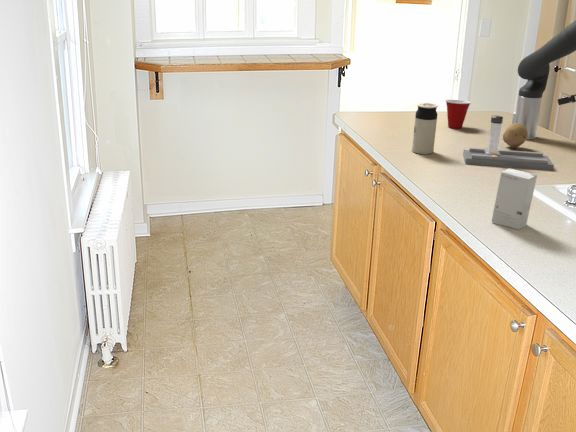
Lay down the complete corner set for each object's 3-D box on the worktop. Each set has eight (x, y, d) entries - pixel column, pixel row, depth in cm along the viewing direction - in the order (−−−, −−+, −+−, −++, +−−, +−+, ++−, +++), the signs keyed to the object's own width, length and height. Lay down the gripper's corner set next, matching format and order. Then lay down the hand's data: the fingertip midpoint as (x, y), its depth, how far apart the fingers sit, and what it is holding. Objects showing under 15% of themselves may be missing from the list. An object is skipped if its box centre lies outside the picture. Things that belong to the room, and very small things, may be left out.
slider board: (546, 161, 244) (547, 152, 243) (552, 170, 233) (554, 161, 232) (463, 154, 249) (464, 146, 248) (465, 163, 238) (466, 154, 236)
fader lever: (497, 153, 243) (503, 115, 238) (499, 157, 238) (505, 119, 233) (483, 152, 244) (489, 114, 239) (485, 156, 239) (490, 118, 233)
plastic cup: (468, 126, 293) (472, 99, 289) (466, 131, 284) (470, 103, 280) (443, 123, 297) (446, 97, 292) (440, 128, 287) (444, 101, 283)
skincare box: (491, 222, 184) (498, 171, 179) (500, 217, 188) (507, 167, 183) (520, 230, 179) (529, 178, 174) (528, 224, 184) (537, 173, 178)
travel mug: (435, 150, 253) (440, 104, 247) (430, 155, 246) (435, 107, 240) (414, 148, 256) (419, 101, 250) (409, 152, 249) (414, 105, 243)
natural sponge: (526, 152, 255) (531, 126, 251) (502, 150, 257) (506, 125, 253) (523, 146, 263) (527, 121, 260) (500, 144, 265) (504, 120, 261)
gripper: (608, 79, 233) (556, 92, 241) (610, 78, 221) (555, 91, 229) (612, 100, 234) (560, 112, 241) (614, 100, 222) (559, 113, 229)
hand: (558, 102), depth 235 cm, fingers closed
